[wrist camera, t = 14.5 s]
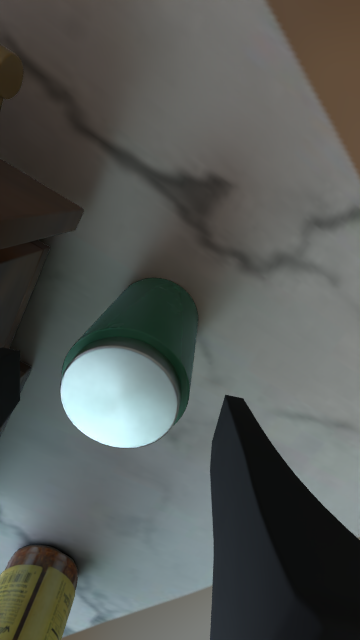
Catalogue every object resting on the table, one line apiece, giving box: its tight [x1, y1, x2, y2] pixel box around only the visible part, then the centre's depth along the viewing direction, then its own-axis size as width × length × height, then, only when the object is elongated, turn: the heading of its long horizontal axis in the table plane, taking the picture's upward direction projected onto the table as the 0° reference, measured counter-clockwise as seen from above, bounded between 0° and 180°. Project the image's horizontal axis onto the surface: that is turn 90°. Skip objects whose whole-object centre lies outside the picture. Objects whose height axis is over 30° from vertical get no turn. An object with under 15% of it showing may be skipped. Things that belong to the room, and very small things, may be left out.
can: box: [60, 278, 198, 448], centre depth 15 cm, size 5×5×8 cm
